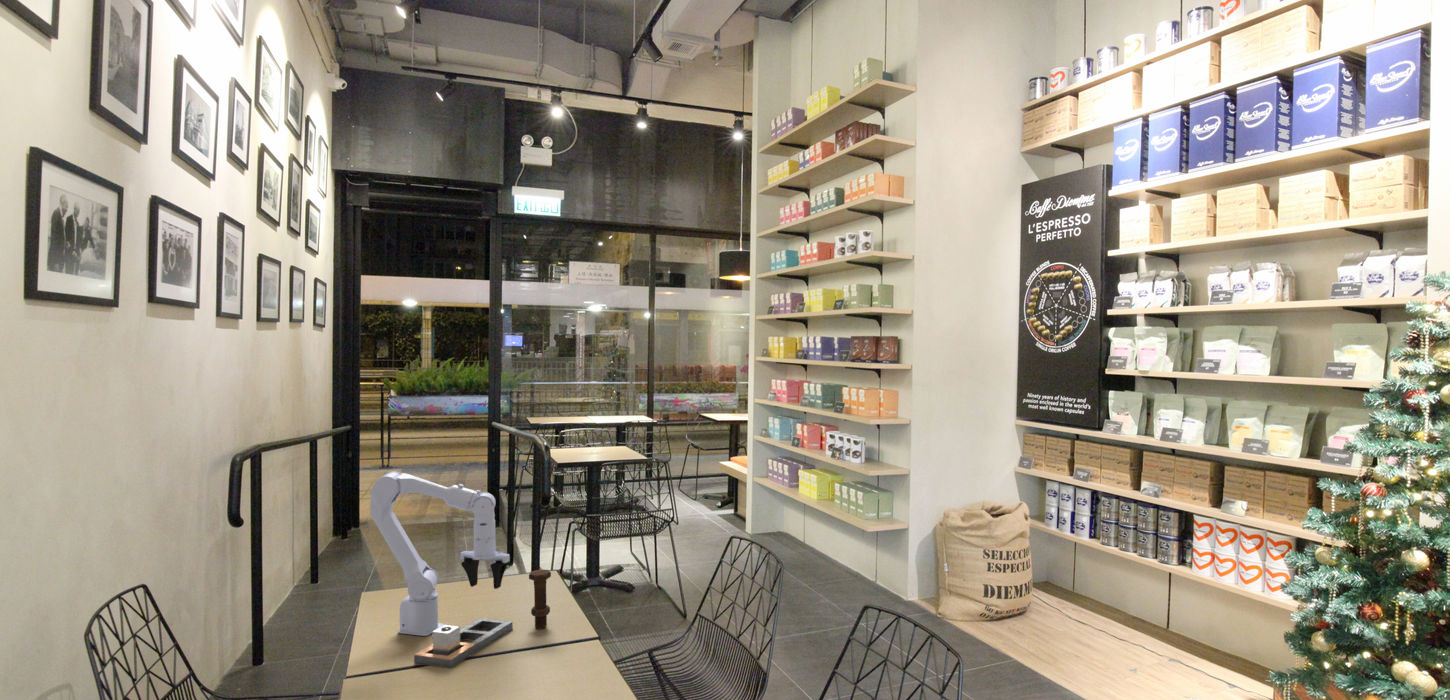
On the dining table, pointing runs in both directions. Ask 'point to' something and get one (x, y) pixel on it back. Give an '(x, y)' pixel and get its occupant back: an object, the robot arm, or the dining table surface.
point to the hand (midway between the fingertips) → (485, 586)
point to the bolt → (540, 597)
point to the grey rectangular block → (446, 640)
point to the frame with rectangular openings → (466, 649)
